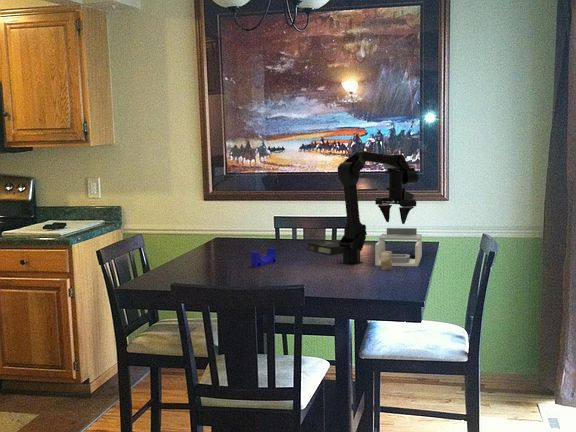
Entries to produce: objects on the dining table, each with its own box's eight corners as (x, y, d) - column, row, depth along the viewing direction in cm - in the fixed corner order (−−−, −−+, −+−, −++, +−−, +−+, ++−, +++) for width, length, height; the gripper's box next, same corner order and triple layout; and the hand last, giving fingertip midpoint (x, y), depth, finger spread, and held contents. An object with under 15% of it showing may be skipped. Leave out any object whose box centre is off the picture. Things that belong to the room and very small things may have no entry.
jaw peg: (387, 270, 259) (387, 253, 259) (378, 269, 262) (378, 251, 262) (394, 269, 262) (394, 251, 261) (385, 267, 265) (385, 250, 264)
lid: (419, 239, 277) (419, 231, 277) (379, 239, 281) (378, 231, 281) (421, 236, 288) (421, 228, 287) (382, 235, 292) (382, 228, 291)
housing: (417, 266, 266) (417, 245, 265) (375, 265, 270) (375, 245, 269) (421, 255, 289) (421, 236, 288) (382, 255, 293) (382, 236, 292)
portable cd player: (307, 252, 309) (307, 243, 308) (338, 248, 318) (338, 239, 318) (329, 257, 295) (329, 247, 295) (361, 252, 304) (361, 243, 304)
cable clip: (267, 262, 285) (266, 247, 285) (276, 263, 283) (275, 248, 282) (248, 266, 276) (247, 251, 275) (257, 267, 273) (256, 252, 272)
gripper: (426, 185, 285) (426, 223, 287) (394, 183, 300) (394, 219, 302) (406, 186, 279) (406, 225, 280) (374, 184, 294) (374, 221, 296)
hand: (395, 223), depth 290 cm, fingers open, 9 cm apart
